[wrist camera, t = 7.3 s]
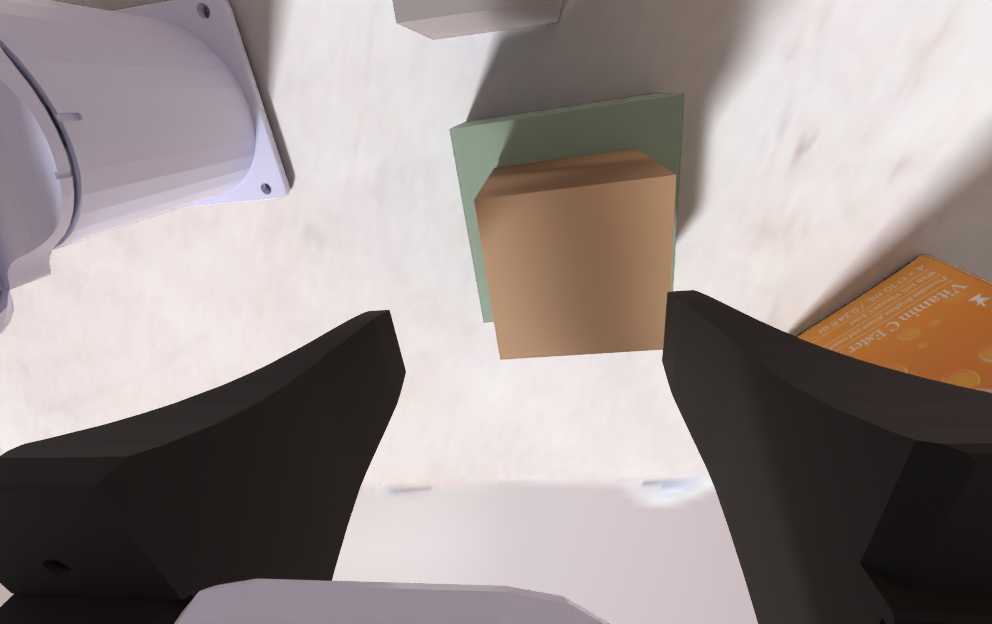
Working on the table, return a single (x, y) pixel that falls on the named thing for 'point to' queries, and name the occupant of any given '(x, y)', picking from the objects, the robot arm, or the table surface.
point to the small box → (919, 325)
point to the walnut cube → (578, 254)
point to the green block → (563, 149)
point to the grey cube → (473, 15)
